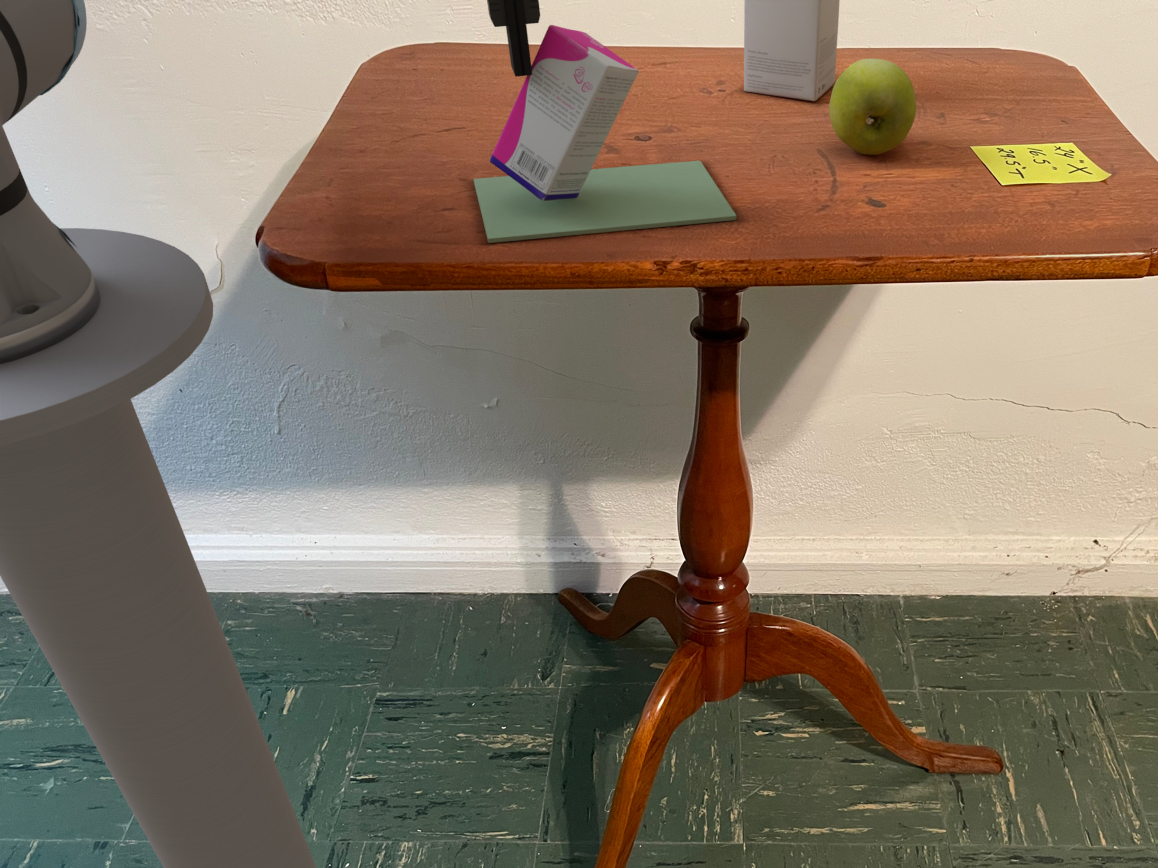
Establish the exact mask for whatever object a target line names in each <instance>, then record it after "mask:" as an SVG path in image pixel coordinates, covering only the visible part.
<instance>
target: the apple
mask: <svg viewBox="0 0 1158 868" xmlns="http://www.w3.org/2000/svg"><path fill="white" fill-rule="evenodd" d="M828 105H829V106H828V115H829V120H830V124H831V126H832V130H833V132H834V133H835V136H837V138H838V139H839V140H840V141H841V142H842V143H844V144H845V145H846V146H847V147H849V148H850V149H852V150H853V151H854V152H856V153H859V154H862V155H867V156H876V155H877V156H878V155H881V154H884V153H887V152H889V151H891V150H893V149H895V148H897V147H898V146H900V144H902V143H903V142H904V140H905V139H906V138H907V136H908V134H909V133H910V131H911V128H912V127H913V124H914V122H915V118H916V113H917V100H916V93H915V90H914V86H913V83H912V81H911V78H910V77H909V76H908V74H907V73H906V72H905V70H904V69H903V68H902V67H900V66H899V65H897V64H896V63H894V62H892V61H889V60H886V59H883V58H863V59H859V60H857V61H855V62H853V63H851V64H850V65H849V66H848V67H847V68H846V69H845V70H844V71H842V73H840V75H839V76H838V77H837V79H836V80H835V83H834V84H833V87H832V90H831V95H830V98H829V104H828Z"/></svg>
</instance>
